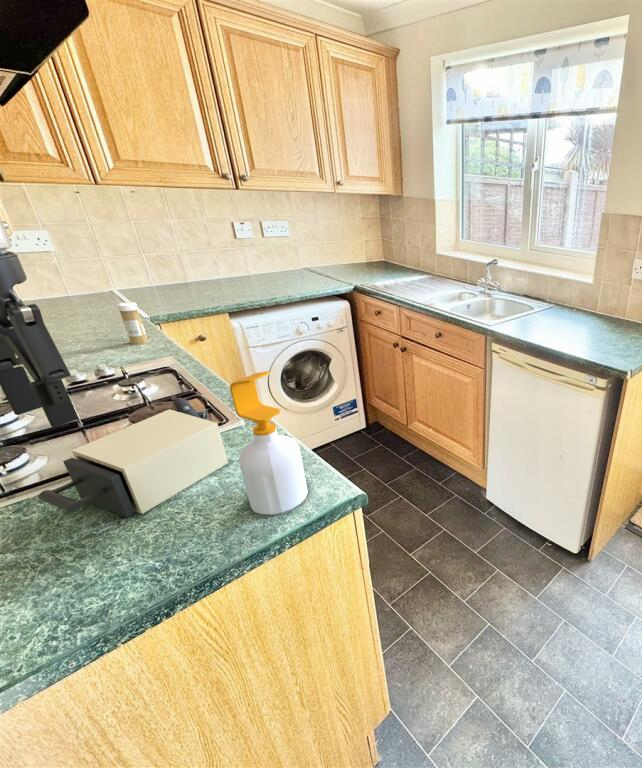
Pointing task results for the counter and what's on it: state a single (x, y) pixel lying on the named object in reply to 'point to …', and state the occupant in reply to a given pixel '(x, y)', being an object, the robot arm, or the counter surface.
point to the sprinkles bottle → (132, 323)
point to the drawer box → (159, 455)
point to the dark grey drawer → (93, 488)
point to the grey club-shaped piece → (188, 409)
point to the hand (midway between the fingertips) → (46, 416)
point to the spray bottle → (267, 455)
